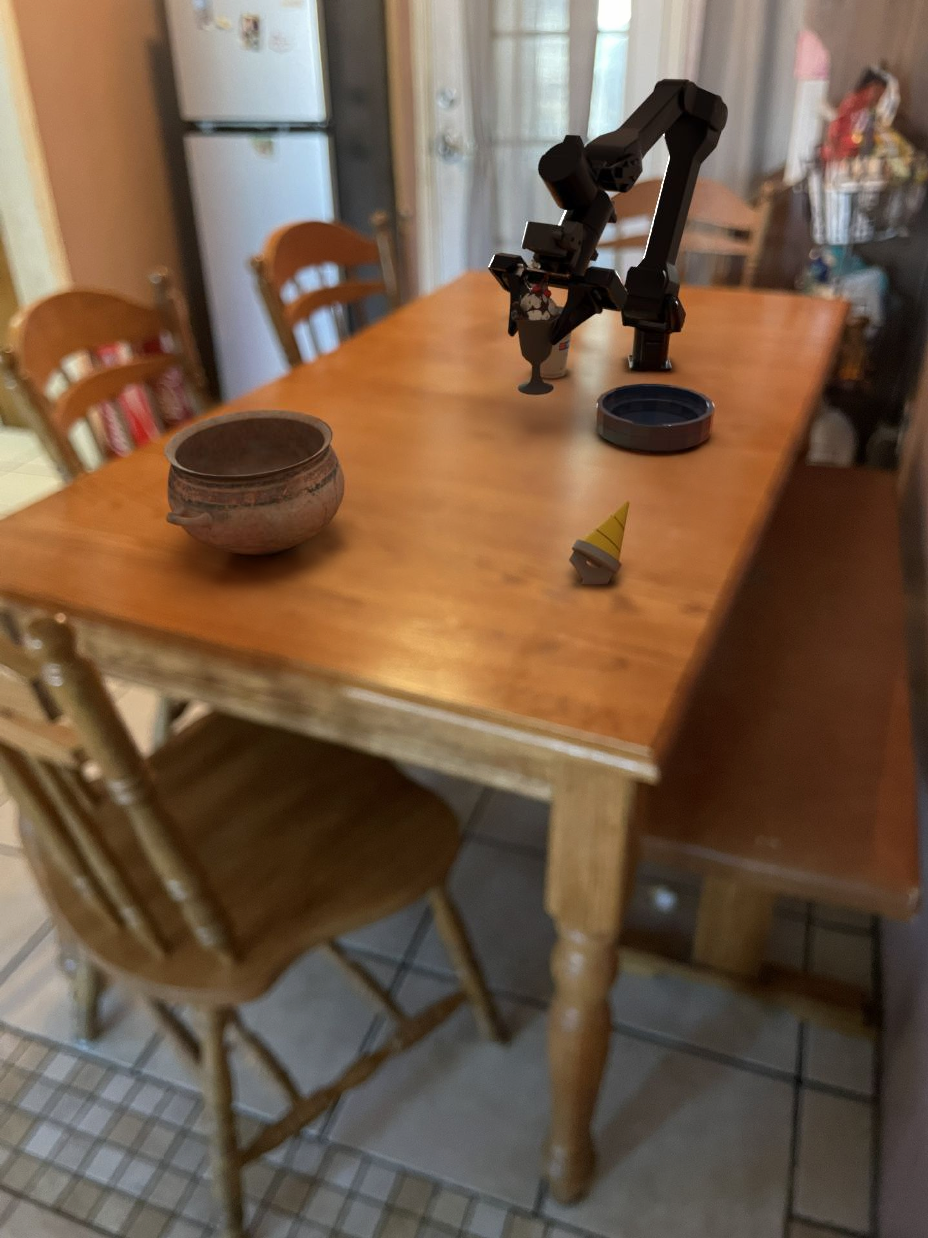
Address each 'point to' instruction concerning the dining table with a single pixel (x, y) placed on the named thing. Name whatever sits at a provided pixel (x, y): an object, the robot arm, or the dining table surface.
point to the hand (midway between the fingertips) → (530, 339)
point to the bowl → (654, 417)
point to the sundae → (536, 334)
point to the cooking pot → (254, 480)
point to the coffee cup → (556, 358)
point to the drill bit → (601, 549)
